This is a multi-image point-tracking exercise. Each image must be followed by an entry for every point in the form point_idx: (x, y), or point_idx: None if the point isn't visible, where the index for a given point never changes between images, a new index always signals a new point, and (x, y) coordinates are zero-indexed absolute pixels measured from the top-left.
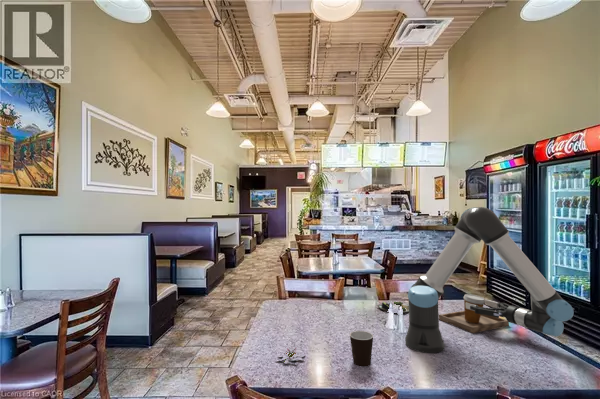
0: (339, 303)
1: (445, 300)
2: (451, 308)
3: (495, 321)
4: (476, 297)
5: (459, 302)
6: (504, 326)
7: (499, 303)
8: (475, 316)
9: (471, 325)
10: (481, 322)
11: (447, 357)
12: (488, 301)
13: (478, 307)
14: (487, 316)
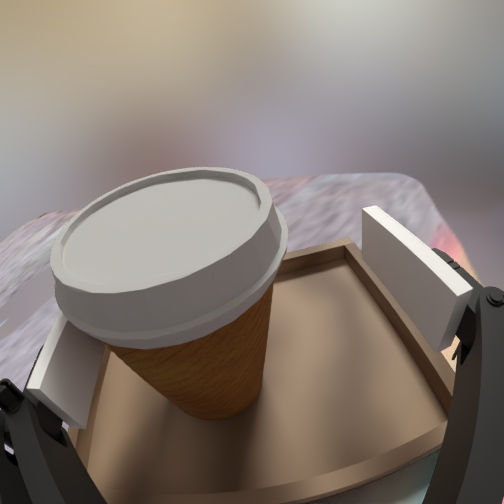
0: (66, 220)
1: (325, 177)
2: (293, 218)
3: (401, 388)
4: (200, 207)
5: (362, 184)
6: (423, 457)
7: (483, 313)
8: (172, 399)
9: (147, 437)
10: (272, 406)
11: None
12: (383, 237)
13: (8, 420)
14: (388, 313)
